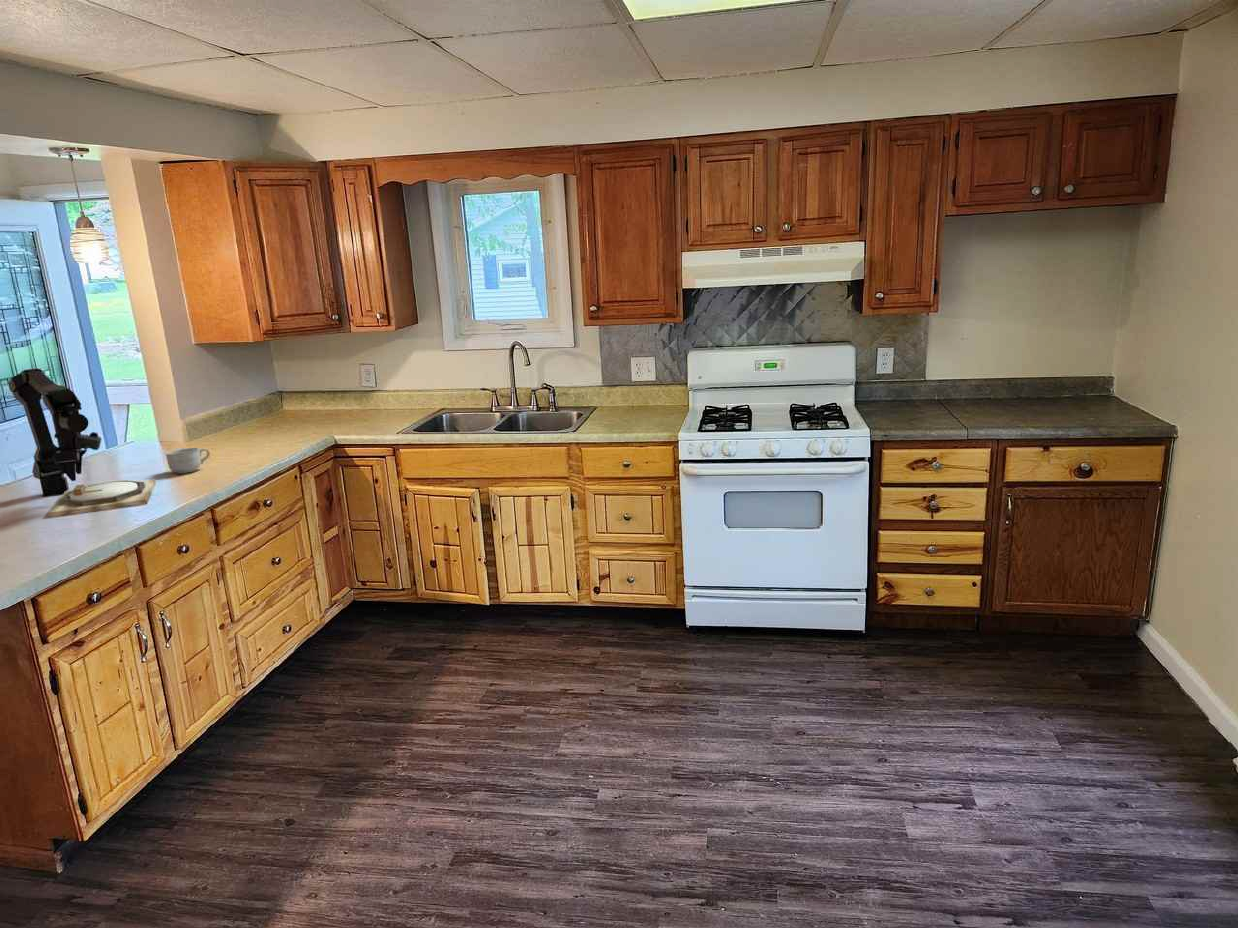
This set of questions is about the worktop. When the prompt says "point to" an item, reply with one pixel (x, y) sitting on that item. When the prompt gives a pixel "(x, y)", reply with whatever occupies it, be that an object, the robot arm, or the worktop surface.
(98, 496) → the dial
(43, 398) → the robot arm
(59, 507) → the dial base
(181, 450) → the teacup
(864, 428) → the worktop surface
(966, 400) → the worktop surface
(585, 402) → the worktop surface
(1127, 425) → the worktop surface
